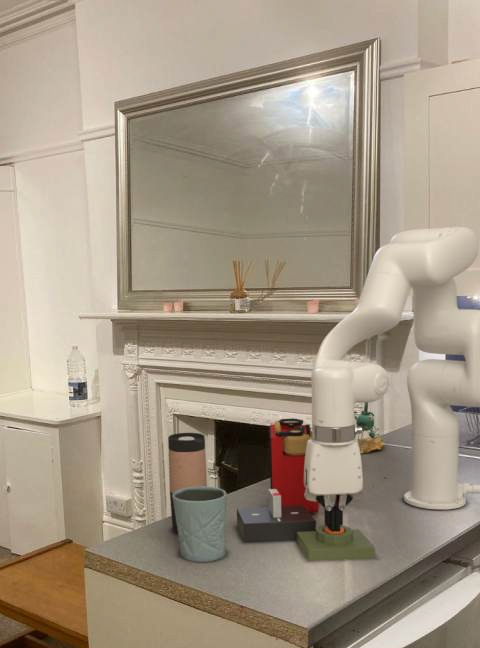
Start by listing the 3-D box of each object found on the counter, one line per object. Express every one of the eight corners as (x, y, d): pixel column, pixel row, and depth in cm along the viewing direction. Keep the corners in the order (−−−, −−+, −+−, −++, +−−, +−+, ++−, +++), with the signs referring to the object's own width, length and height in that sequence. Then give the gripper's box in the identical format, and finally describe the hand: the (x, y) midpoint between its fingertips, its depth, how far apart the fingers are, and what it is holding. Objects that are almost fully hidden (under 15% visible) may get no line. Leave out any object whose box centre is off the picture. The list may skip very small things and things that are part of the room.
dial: (268, 510, 167) (268, 487, 166) (276, 510, 166) (276, 487, 166) (273, 517, 162) (272, 494, 161) (281, 517, 162) (281, 494, 161)
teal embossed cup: (237, 558, 152) (235, 496, 150) (187, 567, 149) (184, 503, 147) (214, 541, 161) (212, 483, 160) (167, 549, 159) (164, 489, 157)
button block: (358, 540, 158) (358, 520, 158) (374, 558, 148) (374, 537, 148) (296, 542, 159) (296, 522, 158) (308, 561, 149) (308, 540, 148)
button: (341, 534, 155) (341, 525, 155) (346, 540, 151) (346, 531, 151) (322, 535, 155) (322, 526, 155) (327, 541, 151) (327, 532, 151)
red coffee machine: (319, 519, 172) (318, 426, 169) (270, 518, 174) (268, 427, 171) (314, 497, 187) (313, 412, 184) (269, 497, 189) (267, 413, 186)
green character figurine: (399, 444, 233) (397, 395, 230) (367, 463, 222) (364, 412, 218) (368, 439, 240) (365, 391, 237) (335, 458, 229) (332, 408, 225)
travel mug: (170, 525, 173) (166, 433, 170) (206, 523, 173) (203, 431, 170) (172, 537, 165) (168, 441, 163) (210, 535, 165) (207, 439, 162)
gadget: (304, 523, 169) (304, 504, 169) (316, 540, 159) (315, 519, 159) (237, 526, 170) (236, 507, 169) (244, 543, 160) (244, 522, 159)
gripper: (367, 428, 154) (367, 521, 156) (288, 431, 154) (289, 524, 157) (380, 436, 146) (380, 534, 149) (296, 439, 147) (298, 537, 149)
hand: (333, 529), depth 153 cm, fingers closed
